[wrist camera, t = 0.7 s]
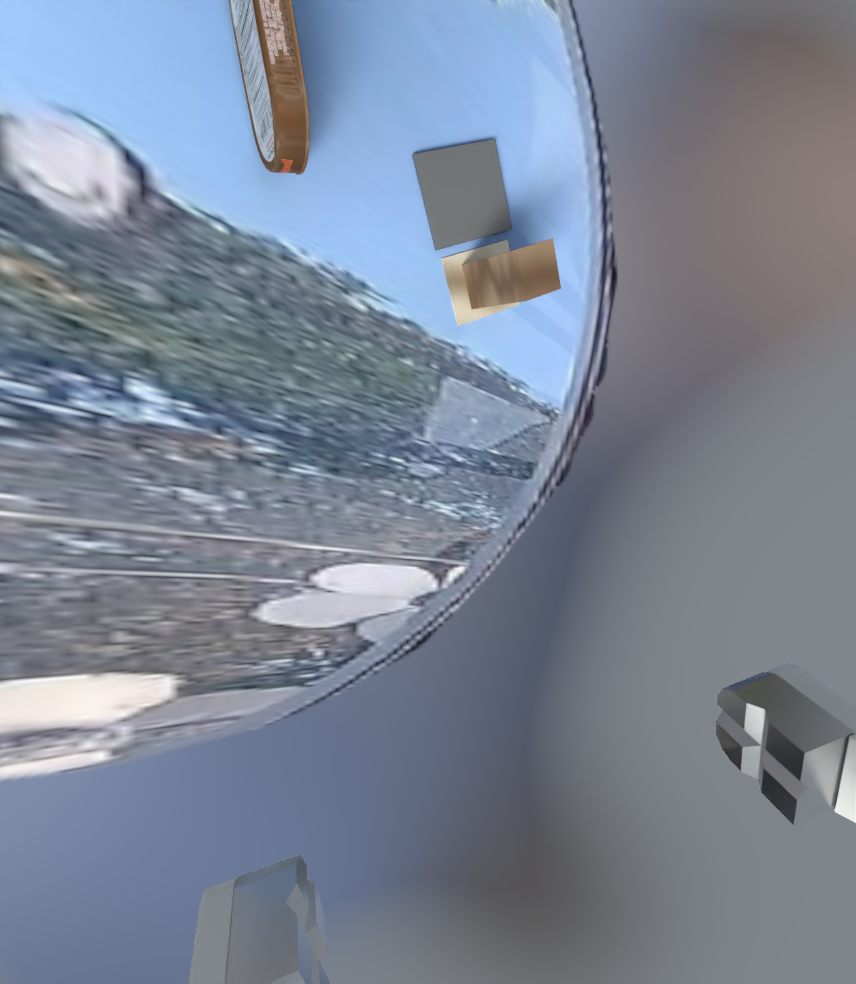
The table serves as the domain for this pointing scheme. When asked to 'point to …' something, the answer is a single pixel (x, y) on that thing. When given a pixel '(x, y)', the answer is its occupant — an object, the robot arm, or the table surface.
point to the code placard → (458, 283)
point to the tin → (273, 81)
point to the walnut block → (512, 276)
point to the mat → (463, 192)
